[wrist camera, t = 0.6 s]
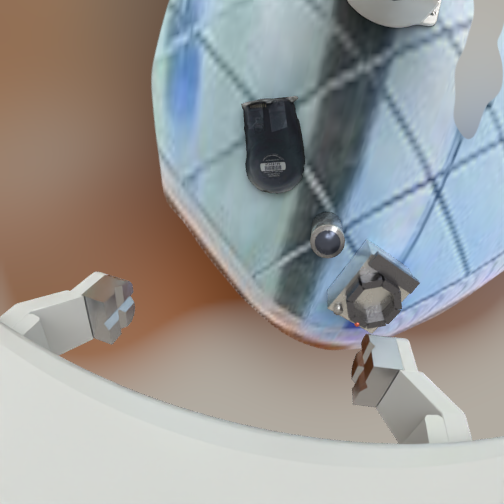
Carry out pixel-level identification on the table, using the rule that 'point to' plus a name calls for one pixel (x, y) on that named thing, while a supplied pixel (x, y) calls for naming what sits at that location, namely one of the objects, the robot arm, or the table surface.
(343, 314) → the camera body
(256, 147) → the electronic device
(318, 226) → the lens
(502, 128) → the table surface
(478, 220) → the table surface
